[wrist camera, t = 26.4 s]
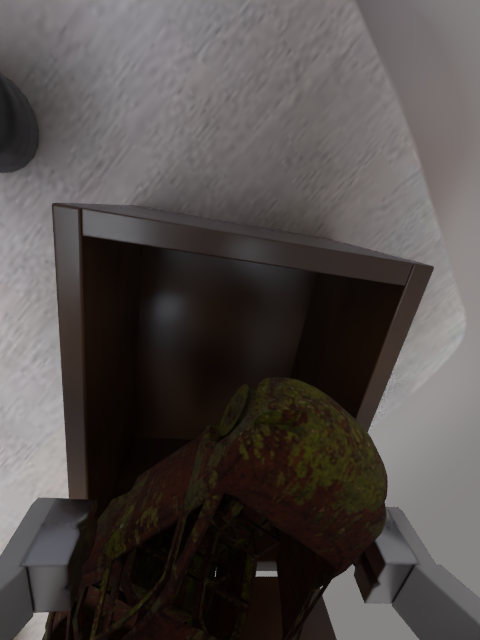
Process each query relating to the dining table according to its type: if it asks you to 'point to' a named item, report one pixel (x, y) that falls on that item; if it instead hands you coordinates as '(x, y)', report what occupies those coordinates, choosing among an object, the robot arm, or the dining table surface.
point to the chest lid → (280, 615)
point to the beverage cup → (15, 128)
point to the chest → (209, 331)
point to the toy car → (233, 522)
